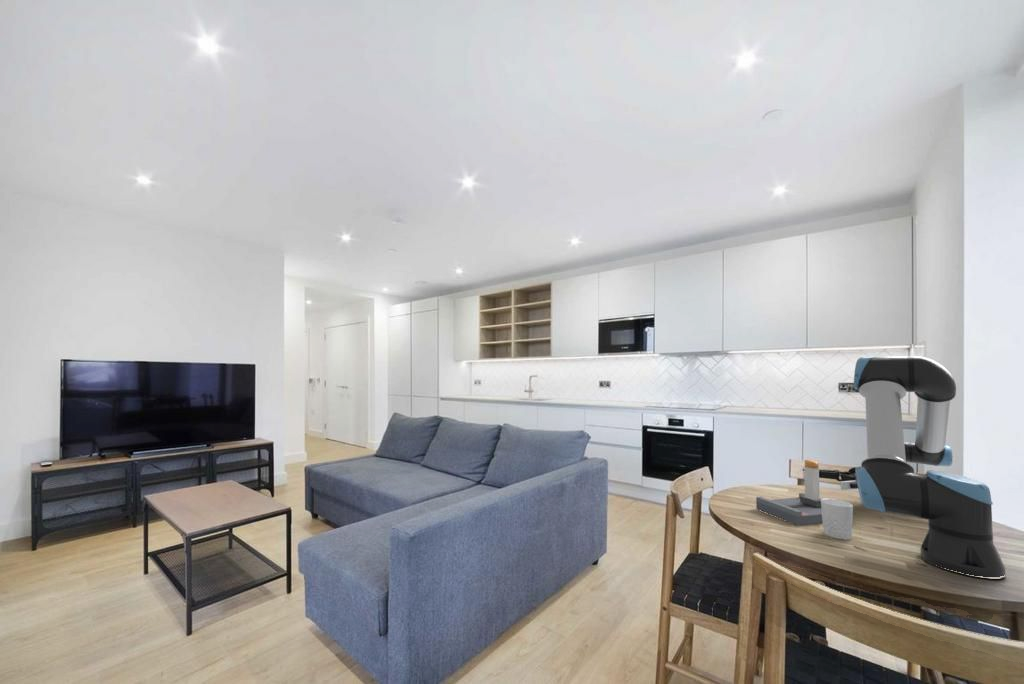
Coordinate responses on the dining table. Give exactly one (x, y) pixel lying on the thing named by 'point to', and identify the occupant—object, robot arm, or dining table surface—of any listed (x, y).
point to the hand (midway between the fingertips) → (822, 480)
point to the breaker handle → (811, 484)
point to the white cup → (837, 518)
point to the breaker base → (792, 518)
